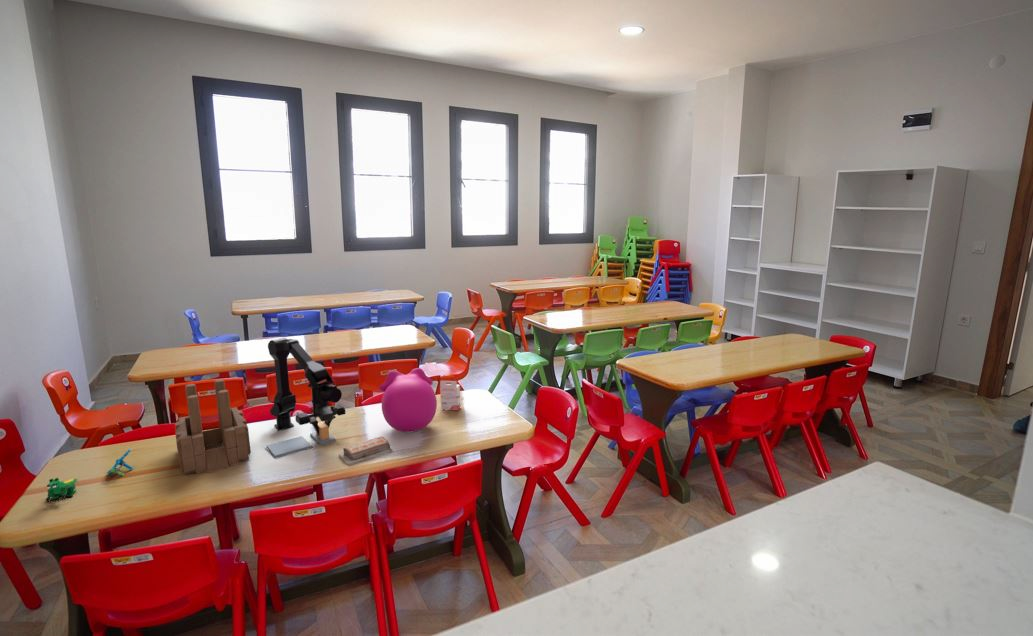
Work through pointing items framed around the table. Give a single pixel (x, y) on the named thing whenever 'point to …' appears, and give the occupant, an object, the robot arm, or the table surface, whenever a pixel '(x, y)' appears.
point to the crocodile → (60, 489)
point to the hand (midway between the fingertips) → (322, 433)
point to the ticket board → (289, 446)
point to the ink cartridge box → (450, 395)
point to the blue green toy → (120, 462)
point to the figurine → (408, 400)
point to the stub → (323, 434)
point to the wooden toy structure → (211, 435)
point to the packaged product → (365, 450)
